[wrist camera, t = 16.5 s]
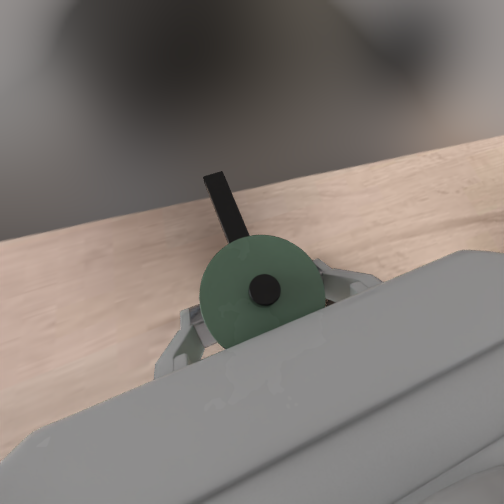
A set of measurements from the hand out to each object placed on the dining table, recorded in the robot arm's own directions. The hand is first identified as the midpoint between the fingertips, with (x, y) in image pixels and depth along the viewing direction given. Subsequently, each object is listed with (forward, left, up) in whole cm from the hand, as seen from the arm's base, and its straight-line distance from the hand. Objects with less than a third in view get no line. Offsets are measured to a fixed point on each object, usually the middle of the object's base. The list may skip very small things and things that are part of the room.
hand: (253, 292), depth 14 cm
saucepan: (-1, +1, -4) cm, 5 cm away
